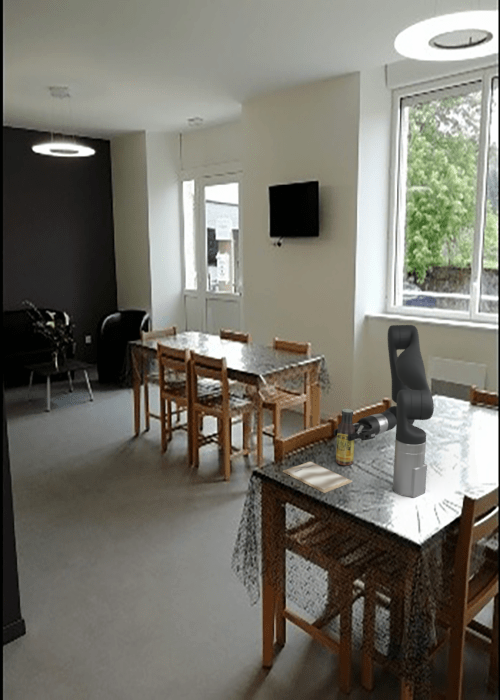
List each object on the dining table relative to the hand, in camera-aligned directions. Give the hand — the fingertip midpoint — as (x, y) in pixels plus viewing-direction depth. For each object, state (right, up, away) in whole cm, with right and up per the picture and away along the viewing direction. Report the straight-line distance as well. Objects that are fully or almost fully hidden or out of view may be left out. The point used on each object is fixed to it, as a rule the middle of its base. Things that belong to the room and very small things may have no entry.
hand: (341, 435), depth 196 cm
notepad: (-10, -13, -7) cm, 18 cm away
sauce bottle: (+2, -11, +4) cm, 11 cm away
